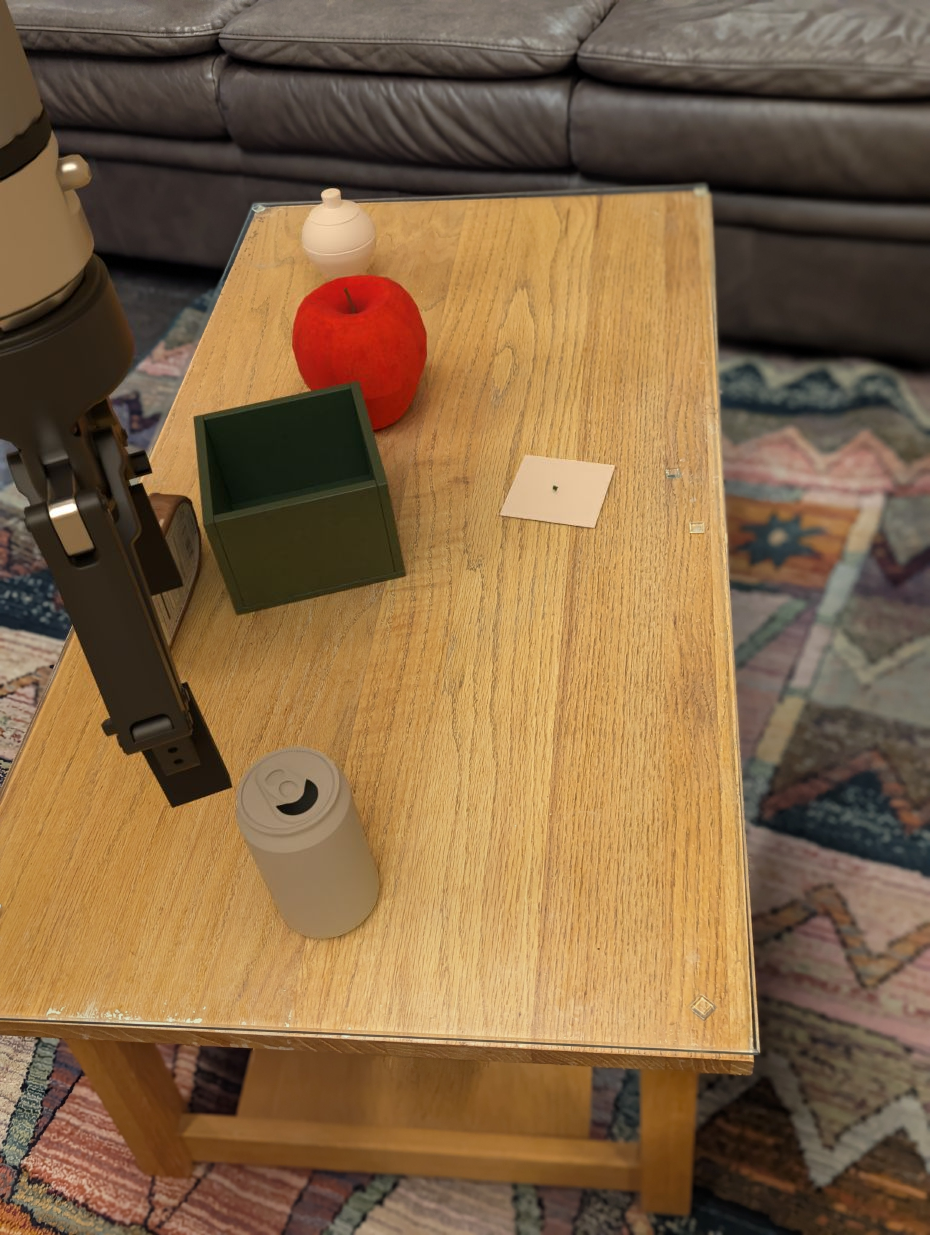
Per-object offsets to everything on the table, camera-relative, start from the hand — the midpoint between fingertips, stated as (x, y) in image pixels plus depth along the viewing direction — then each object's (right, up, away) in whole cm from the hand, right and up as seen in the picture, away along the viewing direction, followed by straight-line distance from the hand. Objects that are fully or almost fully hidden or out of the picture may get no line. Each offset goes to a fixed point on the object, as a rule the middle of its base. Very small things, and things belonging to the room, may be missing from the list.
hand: (177, 682), depth 52 cm
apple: (+6, +22, +48) cm, 54 cm away
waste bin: (+1, +10, +38) cm, 39 cm away
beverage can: (+6, -14, +15) cm, 21 cm away
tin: (-9, +3, +33) cm, 35 cm away
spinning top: (+2, +37, +63) cm, 73 cm away
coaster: (+22, +14, +39) cm, 46 cm away
